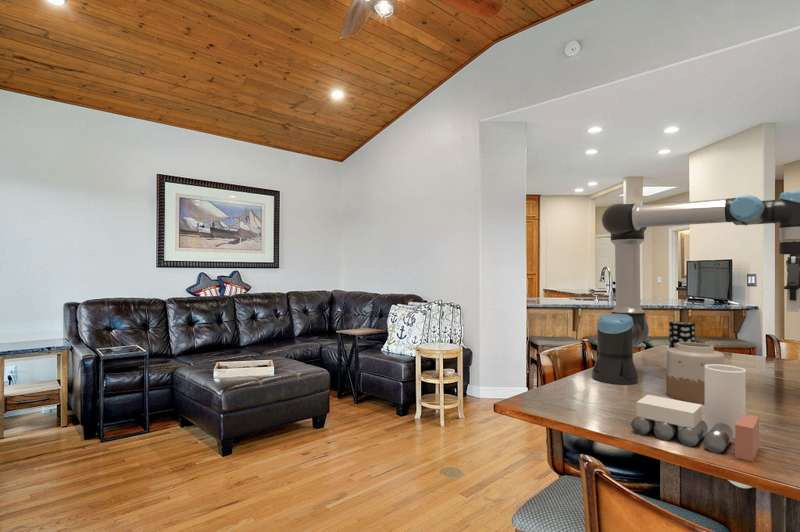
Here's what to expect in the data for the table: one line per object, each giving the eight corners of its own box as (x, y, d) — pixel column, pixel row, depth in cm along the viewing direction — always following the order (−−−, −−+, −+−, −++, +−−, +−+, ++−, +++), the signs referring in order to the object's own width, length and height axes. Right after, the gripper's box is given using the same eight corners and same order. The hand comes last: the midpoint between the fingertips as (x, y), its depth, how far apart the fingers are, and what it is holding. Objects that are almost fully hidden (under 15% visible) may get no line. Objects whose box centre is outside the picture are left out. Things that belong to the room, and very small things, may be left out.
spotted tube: (686, 379, 164) (686, 324, 164) (664, 374, 171) (664, 322, 172) (699, 377, 168) (699, 323, 168) (677, 372, 175) (677, 321, 175)
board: (636, 416, 110) (636, 402, 110) (647, 408, 117) (647, 394, 117) (693, 428, 102) (693, 413, 102) (702, 419, 108) (702, 404, 108)
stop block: (735, 457, 96) (735, 424, 96) (742, 444, 103) (742, 414, 103) (752, 461, 94) (752, 428, 94) (759, 448, 101) (759, 417, 101)
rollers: (631, 432, 110) (631, 416, 111) (643, 422, 118) (643, 407, 118) (725, 455, 97) (725, 436, 97) (733, 442, 104) (733, 425, 104)
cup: (696, 426, 115) (696, 364, 115) (726, 426, 115) (726, 363, 115) (722, 439, 106) (722, 371, 107) (754, 438, 107) (754, 371, 107)
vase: (727, 397, 142) (728, 344, 142) (720, 408, 130) (720, 350, 131) (672, 388, 152) (672, 339, 152) (660, 397, 141) (661, 344, 141)
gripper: (809, 239, 127) (808, 313, 127) (813, 242, 145) (813, 308, 145) (774, 240, 133) (774, 311, 133) (783, 243, 150) (783, 307, 150)
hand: (794, 310), depth 139 cm, fingers open, 13 cm apart
